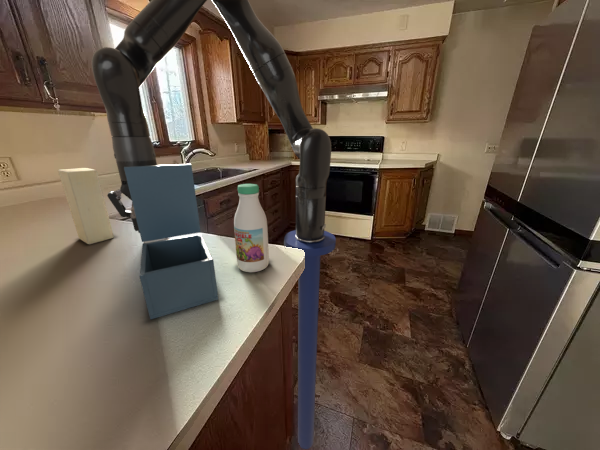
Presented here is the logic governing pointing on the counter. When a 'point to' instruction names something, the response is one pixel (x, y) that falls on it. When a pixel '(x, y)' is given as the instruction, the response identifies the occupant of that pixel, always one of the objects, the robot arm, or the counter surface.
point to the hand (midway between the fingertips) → (151, 229)
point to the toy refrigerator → (86, 204)
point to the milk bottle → (250, 230)
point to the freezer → (177, 275)
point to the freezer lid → (163, 200)
